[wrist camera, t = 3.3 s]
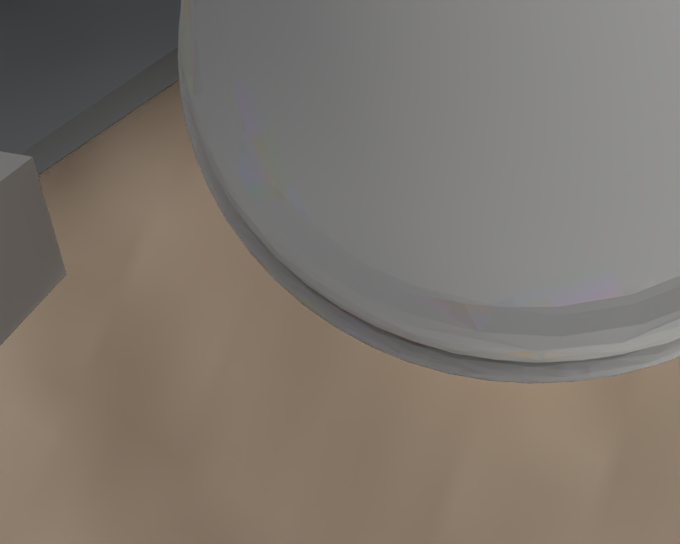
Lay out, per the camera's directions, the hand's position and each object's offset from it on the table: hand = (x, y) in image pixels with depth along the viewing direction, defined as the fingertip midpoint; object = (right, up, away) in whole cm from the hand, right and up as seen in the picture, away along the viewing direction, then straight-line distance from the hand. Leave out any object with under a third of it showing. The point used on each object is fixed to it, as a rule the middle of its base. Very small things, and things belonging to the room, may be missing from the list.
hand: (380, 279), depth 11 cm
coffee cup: (+3, +2, +8) cm, 9 cm away
